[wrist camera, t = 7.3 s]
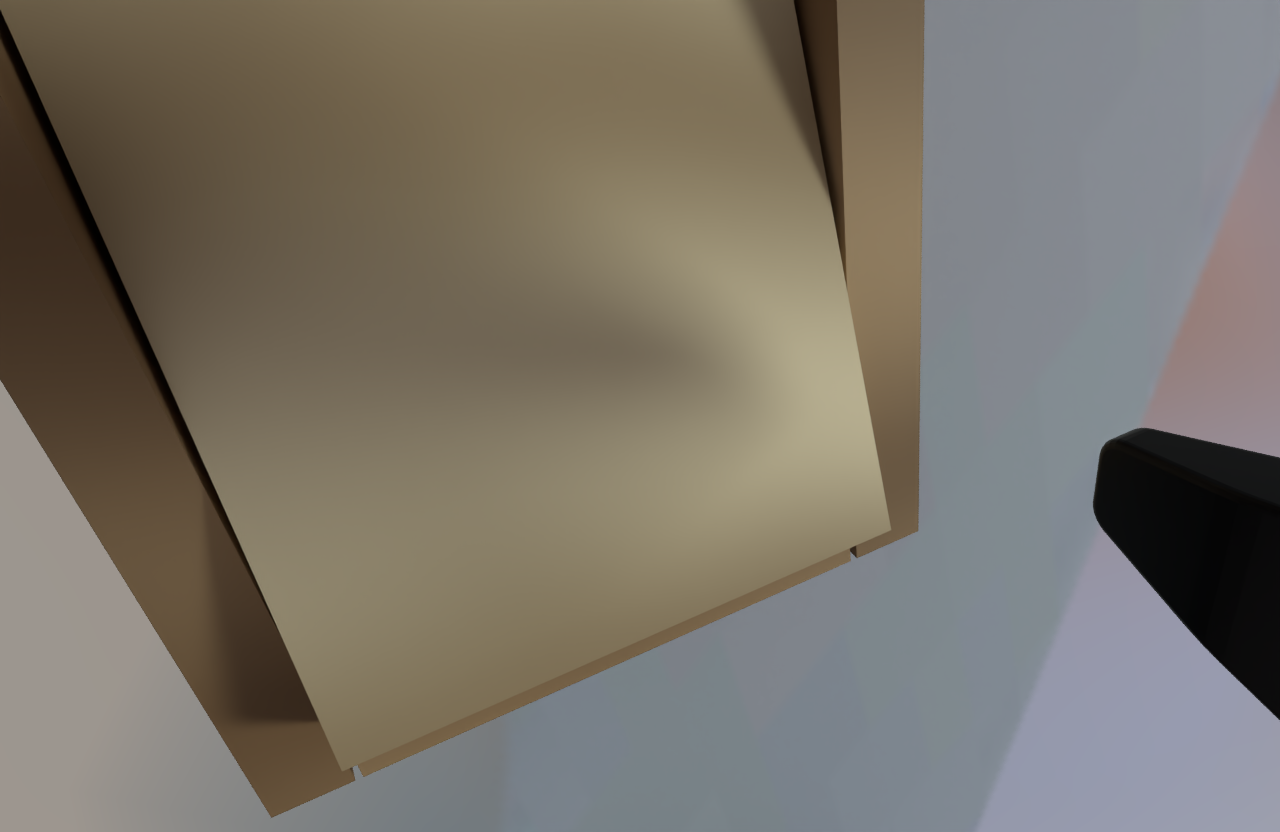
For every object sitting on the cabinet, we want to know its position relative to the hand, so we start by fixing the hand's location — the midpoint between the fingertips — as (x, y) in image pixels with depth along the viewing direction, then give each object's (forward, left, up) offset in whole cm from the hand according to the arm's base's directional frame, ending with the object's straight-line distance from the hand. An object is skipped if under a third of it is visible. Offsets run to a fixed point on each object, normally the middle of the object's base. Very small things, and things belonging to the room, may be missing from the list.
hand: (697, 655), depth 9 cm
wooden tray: (+10, -4, -5) cm, 12 cm away
